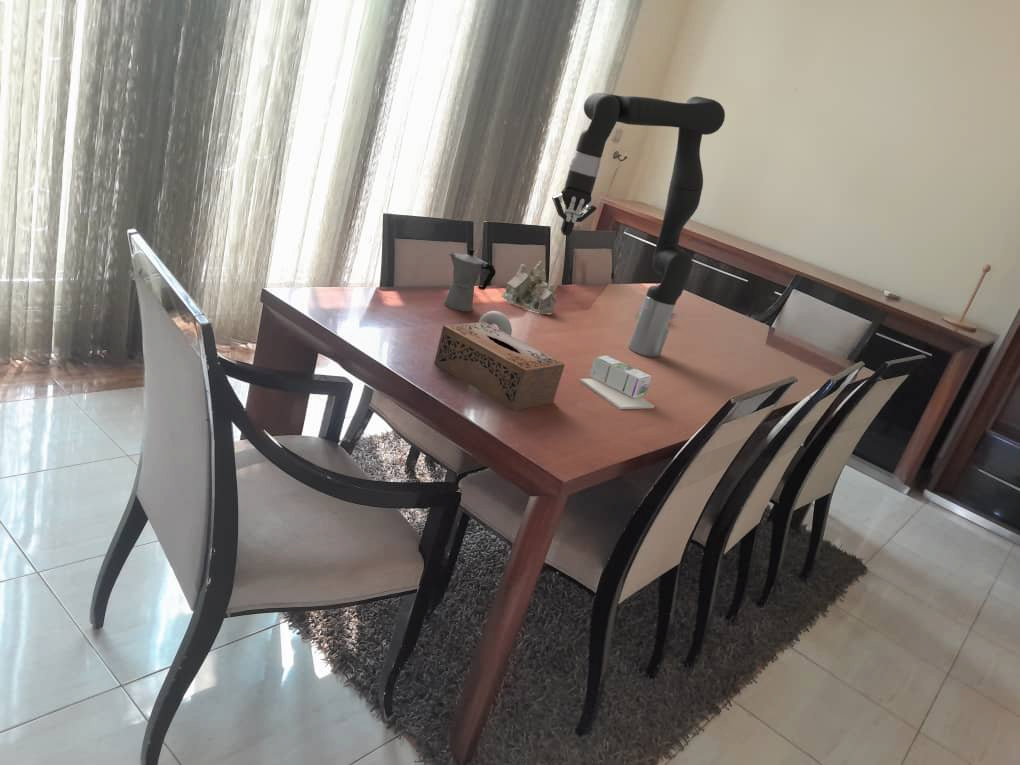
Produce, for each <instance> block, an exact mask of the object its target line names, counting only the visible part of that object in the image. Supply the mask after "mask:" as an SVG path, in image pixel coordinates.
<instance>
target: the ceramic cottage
mask: <svg viewBox="0 0 1020 765" xmlns="http://www.w3.org/2000/svg"><path fill="white" fill-rule="evenodd" d="M526 266H527V265H526V264H523V263H521V264H520V266H519V268H518V270H517V273H516V275H514V277H512V278H511V280H509V281H508V282H506V284H507V287H506V289H505V290H504V291H503V293H502V295H501V297H503V298H504V299H506V300H507V301H508V302H510V303H513V304H517V305H519V306H522V307H524V308H527V309H529V310H532V311H535V312H539V313H552V314H553V308H554V306H555V304H556V303H557V299H556V296H555V295H556V294H555V286H554V284H553V283H550V284H549V283H548V282H546V281H547V275H546V269H543V261H540V260H539V261H538V263H537V264H536V265H535V267H533V268H532V269H530V271H529V274H527V273H526Z"/></svg>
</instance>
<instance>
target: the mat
mask: <svg viewBox="0 0 1020 765" xmlns="http://www.w3.org/2000/svg"><path fill="white" fill-rule="evenodd" d="M579 382H581V383H582V384H583V385H584V386H586V387H587V388H589V389H590V390H592V391H593V392H594V393H596V394H597V395H599V396H601V397H602V398H603V399H605V400H606V402H609V403H610V404H612V405H613V406H615V407H616V408H617V409H619V410H636V409H637V410H638V409H655V405H654V404H652V403H651V402H649V401H647V400H646V399H645V398H643V396H641V397H638V398H632V397H630V396H628V395H626V394H624V393H622V392H620V391H618V390H616V389H614V388H612V387H610V386H608V385H606V384H604V383H602V382H600V381H598V380H596V379H594V378H579Z"/></svg>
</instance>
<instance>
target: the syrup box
mask: <svg viewBox="0 0 1020 765" xmlns="http://www.w3.org/2000/svg"><path fill="white" fill-rule="evenodd" d="M589 378H591V379H596V380H598V381H600V382H602V383H604V384H606V385H608V386H610V387H612V388H614V389H616V390H618V391H620V392H622V393H624V394H626V395H628V396H630V397H632V398H638V397H644V396H646V394H647V392H648V389H649V388H650V387H649V386H650V383H651V380H652V376H651V375H650V374H647V373H645V372H644V371H641V370H639V369H637V368H634V367H633V366H631V365H629V364H626V363H624V362H622V361H620V360H618V359H616V358H613V357H612V356H609V355H607V354H603V355H600V356H599V355H598V356H596V357H594V359H593V362H592V365H591V368H590V372H589Z"/></svg>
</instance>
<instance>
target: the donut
mask: <svg viewBox="0 0 1020 765" xmlns="http://www.w3.org/2000/svg"><path fill="white" fill-rule="evenodd" d="M478 322H486V323H487V324H489V325H491V326H493V324H494V325H496V326H497V329H499V330H501V331H503V332H505V333H507V334H509V335H510V336H512V331H513V330H512V324H511V322H510V320H509V318H508V317H507V316H506V315H505V314H504V313H502V312H501V311H497V310H490V311H488V312H485V313H484V314H482V316H481V317H480V318H479V320H478Z"/></svg>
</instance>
